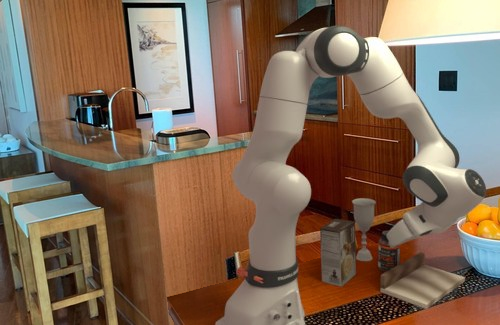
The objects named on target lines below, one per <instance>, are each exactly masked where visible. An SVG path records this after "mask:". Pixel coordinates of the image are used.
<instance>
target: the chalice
mask: <svg viewBox="0 0 500 325" xmlns="http://www.w3.org/2000/svg"><path fill="white" fill-rule="evenodd" d="M351 202H352V204H353V218H354V222H355V225H357V228H358V229H359V231H361V232H362V236H361V239H362V241H361V243H360V244H361V245H362V248H361V249H359V250H358V251H357V254H356V261H357V260H358V261H361V262H370V261H372V260H373V256H372V254H371V251H370V250H369V249H368V248H366V247H367V244H368V242H367V241H366V240H367V238H368V236H367V235H366V234H367V233H366V232H368V231H369V230H370V228H371V227H372V225H373V222H374V219H375V205H376V202H377V201H376V200H374V199H371V198H364V197H362V198H355V199H353V200H351Z"/></svg>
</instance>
